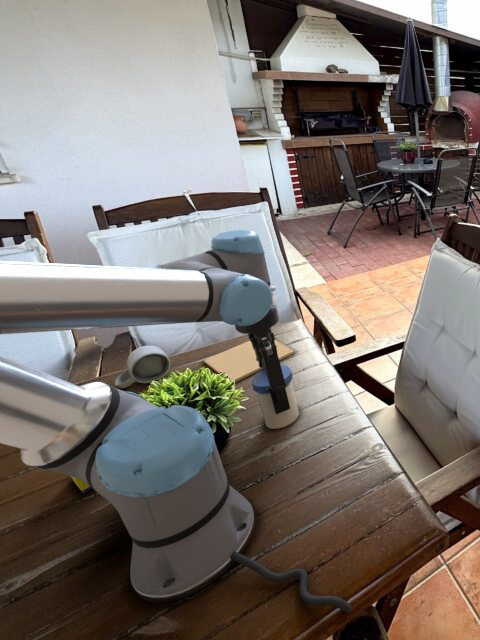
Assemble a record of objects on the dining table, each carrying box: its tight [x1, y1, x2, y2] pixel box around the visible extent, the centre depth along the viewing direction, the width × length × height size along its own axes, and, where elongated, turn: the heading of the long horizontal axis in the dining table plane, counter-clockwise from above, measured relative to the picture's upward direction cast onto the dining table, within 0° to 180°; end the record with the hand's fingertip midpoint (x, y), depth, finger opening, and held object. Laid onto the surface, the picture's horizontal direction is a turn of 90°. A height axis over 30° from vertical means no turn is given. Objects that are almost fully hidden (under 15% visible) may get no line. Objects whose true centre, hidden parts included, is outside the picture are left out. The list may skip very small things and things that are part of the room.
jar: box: [256, 379, 300, 430], centre depth 87 cm, size 7×7×10 cm
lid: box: [251, 364, 294, 394], centre depth 85 cm, size 7×7×2 cm
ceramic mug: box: [114, 345, 171, 389], centre depth 100 cm, size 11×8×8 cm
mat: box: [203, 339, 295, 383], centre depth 109 cm, size 16×16×1 cm
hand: (278, 400), depth 87 cm, fingers closed on lid, 7 cm apart
